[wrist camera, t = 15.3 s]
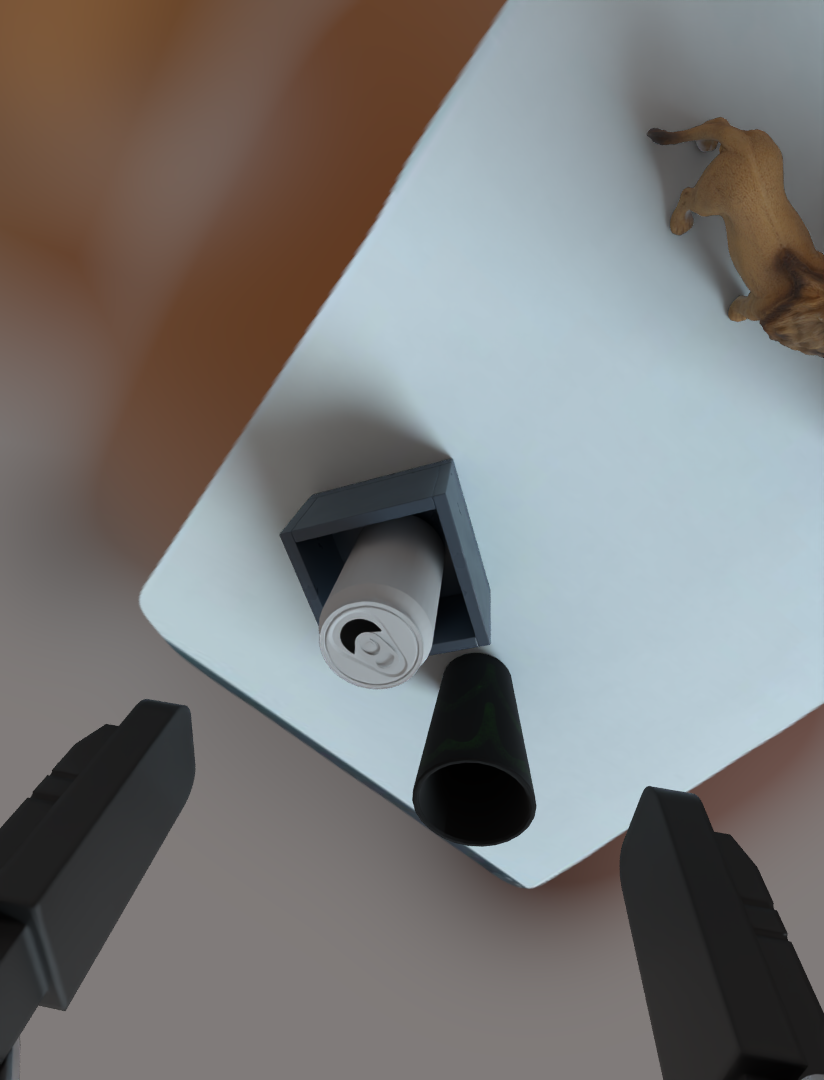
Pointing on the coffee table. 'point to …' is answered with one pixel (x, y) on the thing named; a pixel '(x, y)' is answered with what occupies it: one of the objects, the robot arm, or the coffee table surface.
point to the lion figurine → (757, 232)
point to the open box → (424, 492)
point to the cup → (475, 758)
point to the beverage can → (384, 604)
